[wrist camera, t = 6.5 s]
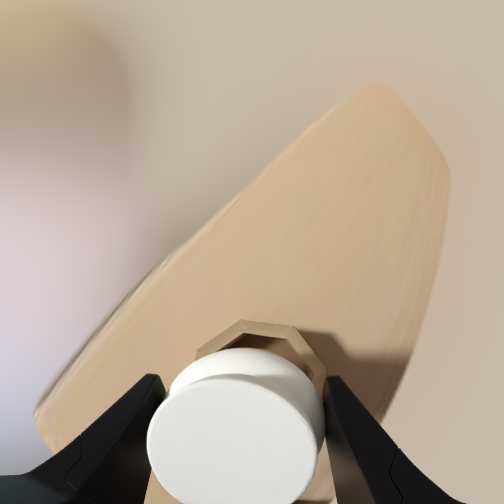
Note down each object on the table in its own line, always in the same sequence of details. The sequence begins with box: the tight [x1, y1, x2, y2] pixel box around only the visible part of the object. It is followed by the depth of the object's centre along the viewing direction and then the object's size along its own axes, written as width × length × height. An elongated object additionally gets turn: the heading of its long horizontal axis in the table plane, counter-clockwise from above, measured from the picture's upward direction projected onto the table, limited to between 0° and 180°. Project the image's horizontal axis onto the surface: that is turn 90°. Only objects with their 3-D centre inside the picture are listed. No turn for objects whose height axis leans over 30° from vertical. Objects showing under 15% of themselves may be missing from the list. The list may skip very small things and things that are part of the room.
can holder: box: [195, 319, 327, 400], centre depth 18 cm, size 8×8×3 cm
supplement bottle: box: [147, 348, 326, 504], centre depth 9 cm, size 5×5×10 cm
